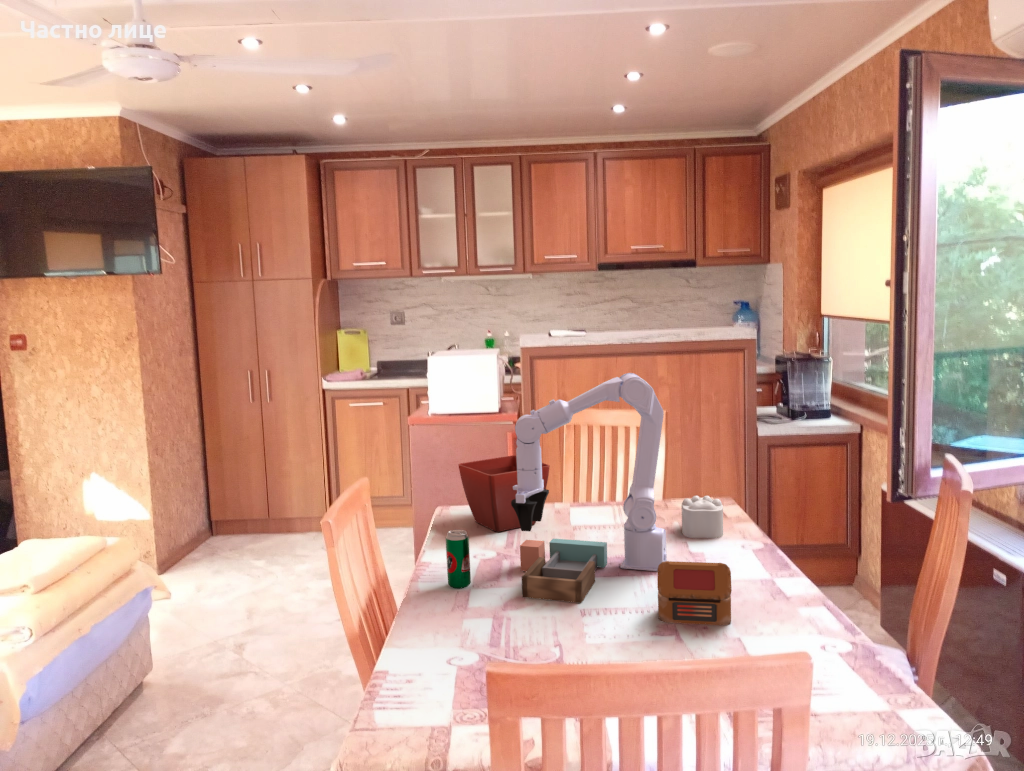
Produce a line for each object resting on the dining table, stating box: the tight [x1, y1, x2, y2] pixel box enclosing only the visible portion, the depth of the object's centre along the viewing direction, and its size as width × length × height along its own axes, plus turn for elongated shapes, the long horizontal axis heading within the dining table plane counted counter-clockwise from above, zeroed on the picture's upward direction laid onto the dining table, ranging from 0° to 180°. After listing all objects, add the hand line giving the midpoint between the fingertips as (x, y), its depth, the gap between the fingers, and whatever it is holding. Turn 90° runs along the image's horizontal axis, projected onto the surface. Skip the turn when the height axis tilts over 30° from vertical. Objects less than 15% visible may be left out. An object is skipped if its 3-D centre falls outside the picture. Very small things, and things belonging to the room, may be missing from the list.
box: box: [656, 560, 733, 626], centre depth 147 cm, size 28×28×12 cm
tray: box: [542, 538, 608, 580], centre depth 173 cm, size 13×14×5 cm
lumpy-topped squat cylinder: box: [681, 495, 724, 539], centre depth 199 cm, size 10×13×9 cm
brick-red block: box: [519, 539, 546, 572], centre depth 177 cm, size 4×4×6 cm
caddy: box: [521, 557, 596, 604], centre depth 163 cm, size 13×12×4 cm
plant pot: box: [458, 454, 550, 532], centre depth 212 cm, size 19×19×17 cm
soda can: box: [445, 529, 472, 590], centre depth 167 cm, size 5×5×12 cm
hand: (531, 525), depth 176 cm, fingers open, 7 cm apart
